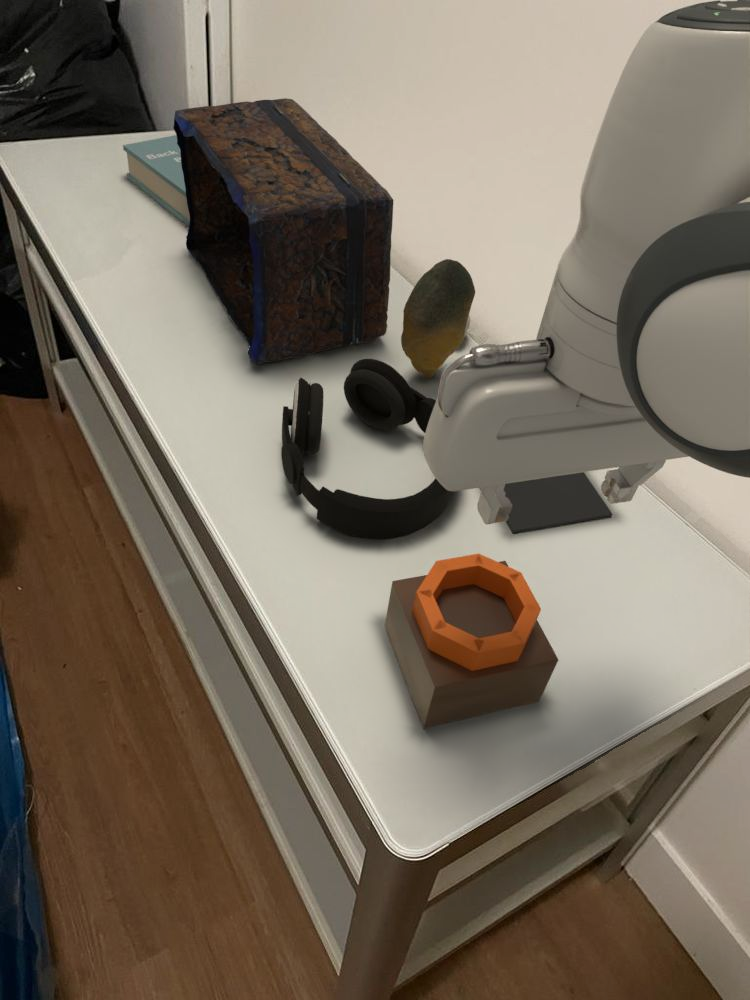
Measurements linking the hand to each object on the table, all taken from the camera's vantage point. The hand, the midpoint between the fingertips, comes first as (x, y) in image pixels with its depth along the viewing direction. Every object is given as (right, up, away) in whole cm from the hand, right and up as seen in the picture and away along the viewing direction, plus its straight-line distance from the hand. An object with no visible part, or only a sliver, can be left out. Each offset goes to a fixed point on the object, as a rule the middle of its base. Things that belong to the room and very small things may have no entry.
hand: (554, 506), depth 53 cm
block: (-5, -13, +12) cm, 18 cm away
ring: (-5, -9, +8) cm, 12 cm away
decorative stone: (-6, +15, +40) cm, 43 cm away
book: (-38, +47, +68) cm, 91 cm away
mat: (+5, +2, +28) cm, 28 cm away
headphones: (-13, +3, +27) cm, 31 cm away
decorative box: (-25, +27, +49) cm, 61 cm away
